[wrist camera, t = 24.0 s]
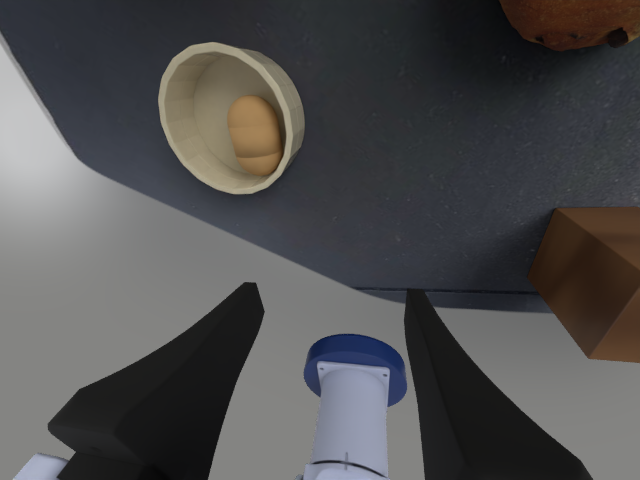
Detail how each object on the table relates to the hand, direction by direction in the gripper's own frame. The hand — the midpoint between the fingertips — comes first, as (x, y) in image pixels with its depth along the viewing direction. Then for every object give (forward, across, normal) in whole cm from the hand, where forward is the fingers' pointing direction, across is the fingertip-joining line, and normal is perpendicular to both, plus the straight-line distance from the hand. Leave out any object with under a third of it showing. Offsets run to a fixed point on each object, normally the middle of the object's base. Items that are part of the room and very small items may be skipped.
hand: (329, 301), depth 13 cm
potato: (+10, +6, -6) cm, 13 cm away
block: (+10, -17, +4) cm, 20 cm away
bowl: (+10, +7, -7) cm, 14 cm away
